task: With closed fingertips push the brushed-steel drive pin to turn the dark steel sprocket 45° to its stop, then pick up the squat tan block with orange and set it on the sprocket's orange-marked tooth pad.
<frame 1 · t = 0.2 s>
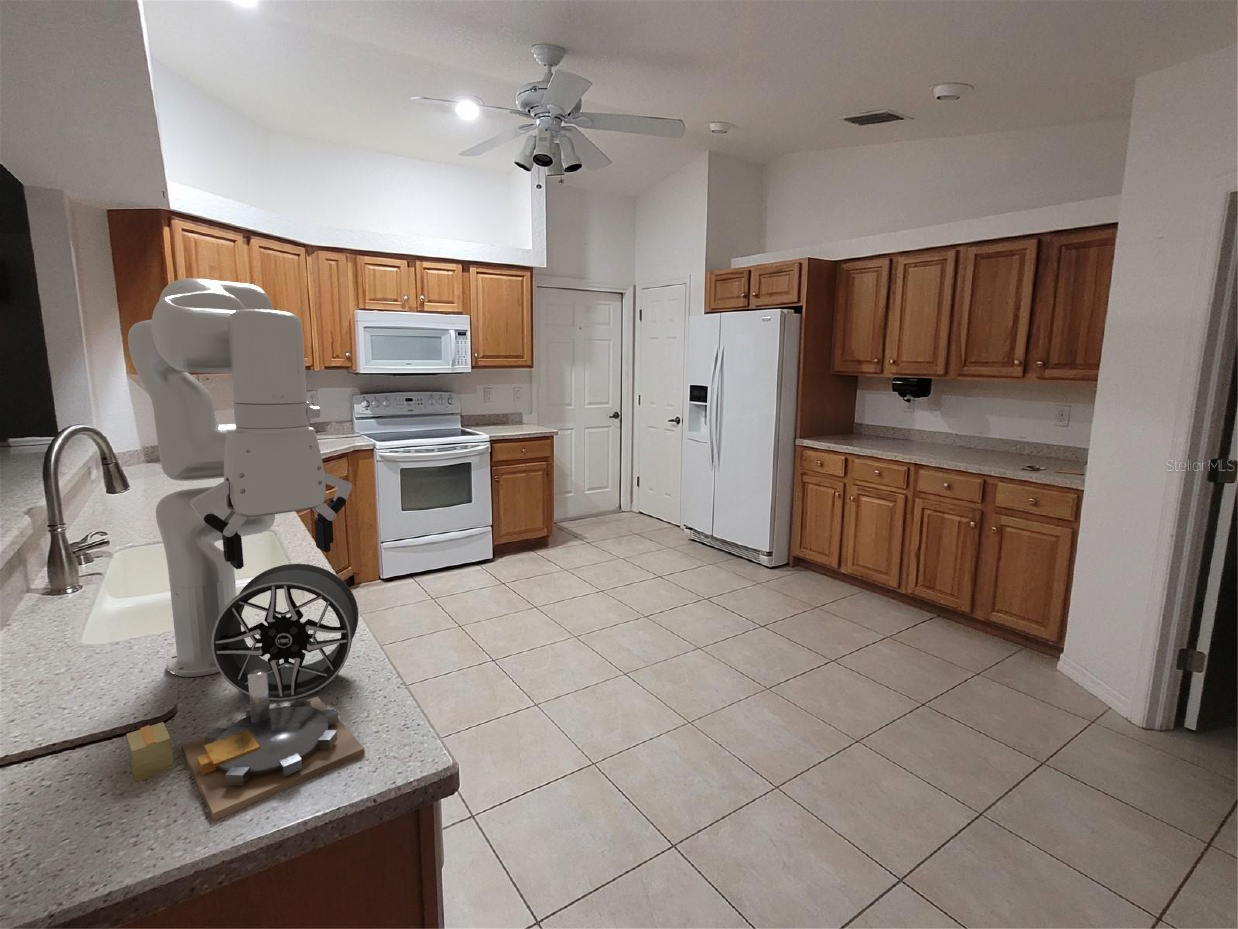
hand: (282, 557, 74), 30 cm above the worktop, fingers open, 9 cm apart
sprocket: (270, 715, 83), point 6 cm above the worktop, hinge at 0.0°
sprocket base: (273, 752, 84), on the worktop
wheel rim: (293, 686, 102), on the worktop
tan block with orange: (151, 766, 81), on the worktop
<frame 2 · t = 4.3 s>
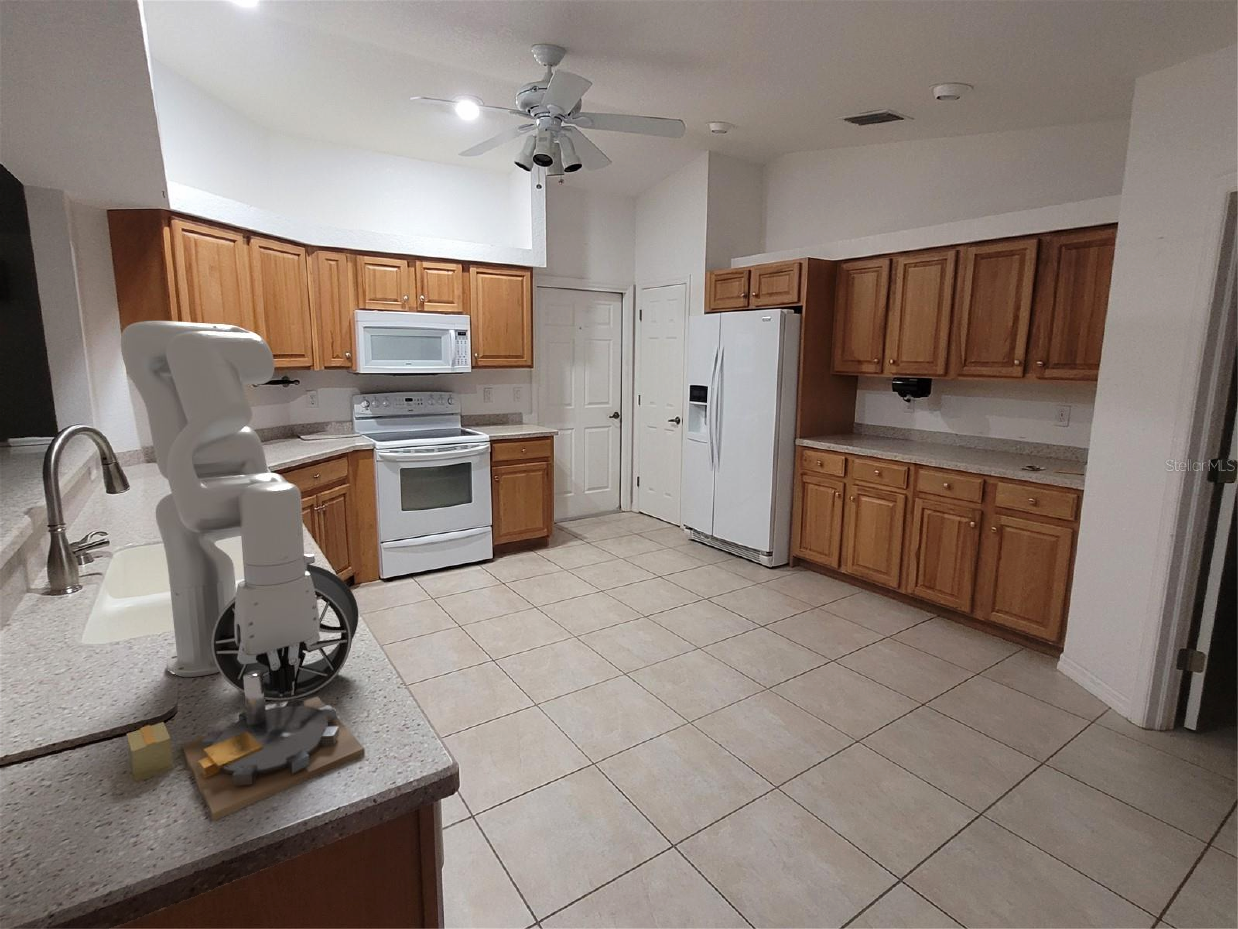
hand: (283, 689, 88), 7 cm above the worktop, fingers closed
sprocket: (270, 715, 83), point 6 cm above the worktop, hinge at 6.6°, touching gripper
everything else where it was.
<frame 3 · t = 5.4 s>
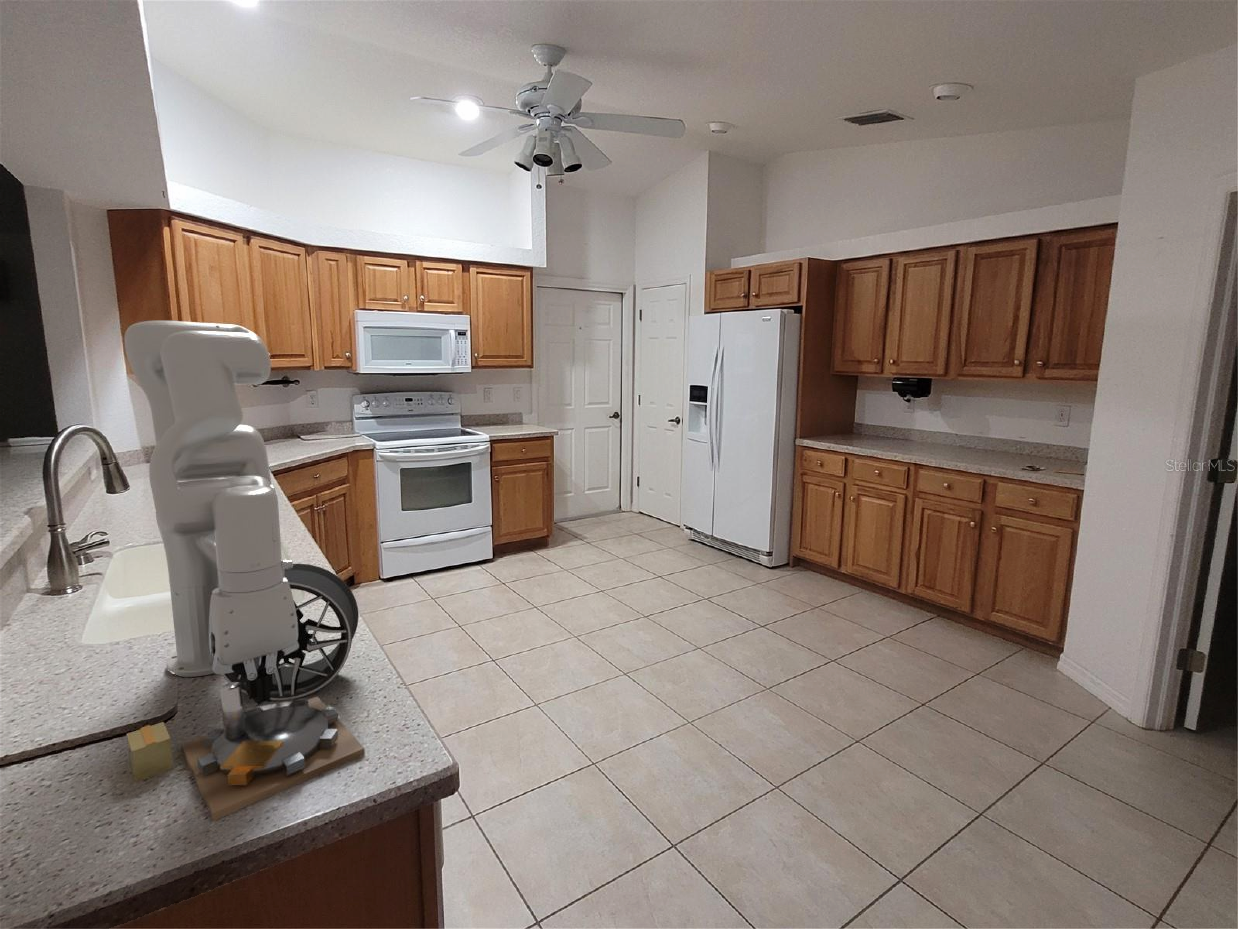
hand: (260, 699, 86), 7 cm above the worktop, fingers closed
sprocket: (270, 715, 83), point 6 cm above the worktop, hinge at 47.4°, touching gripper
everything else where it was.
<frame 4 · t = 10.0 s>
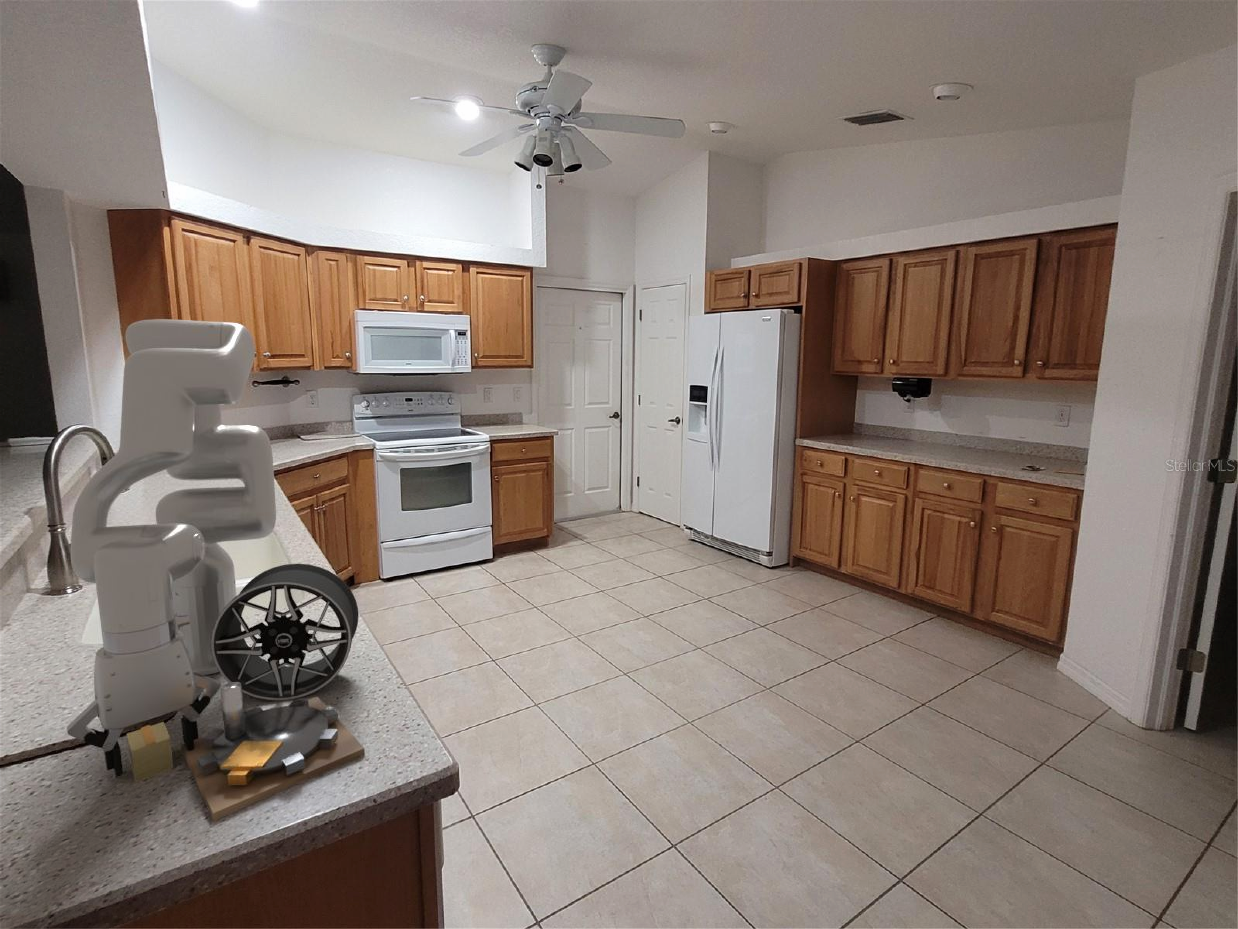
hand: (154, 757, 81), 1 cm above the worktop, fingers open, 7 cm apart
sprocket: (270, 715, 83), point 6 cm above the worktop, hinge at 47.2°
everything else where it was.
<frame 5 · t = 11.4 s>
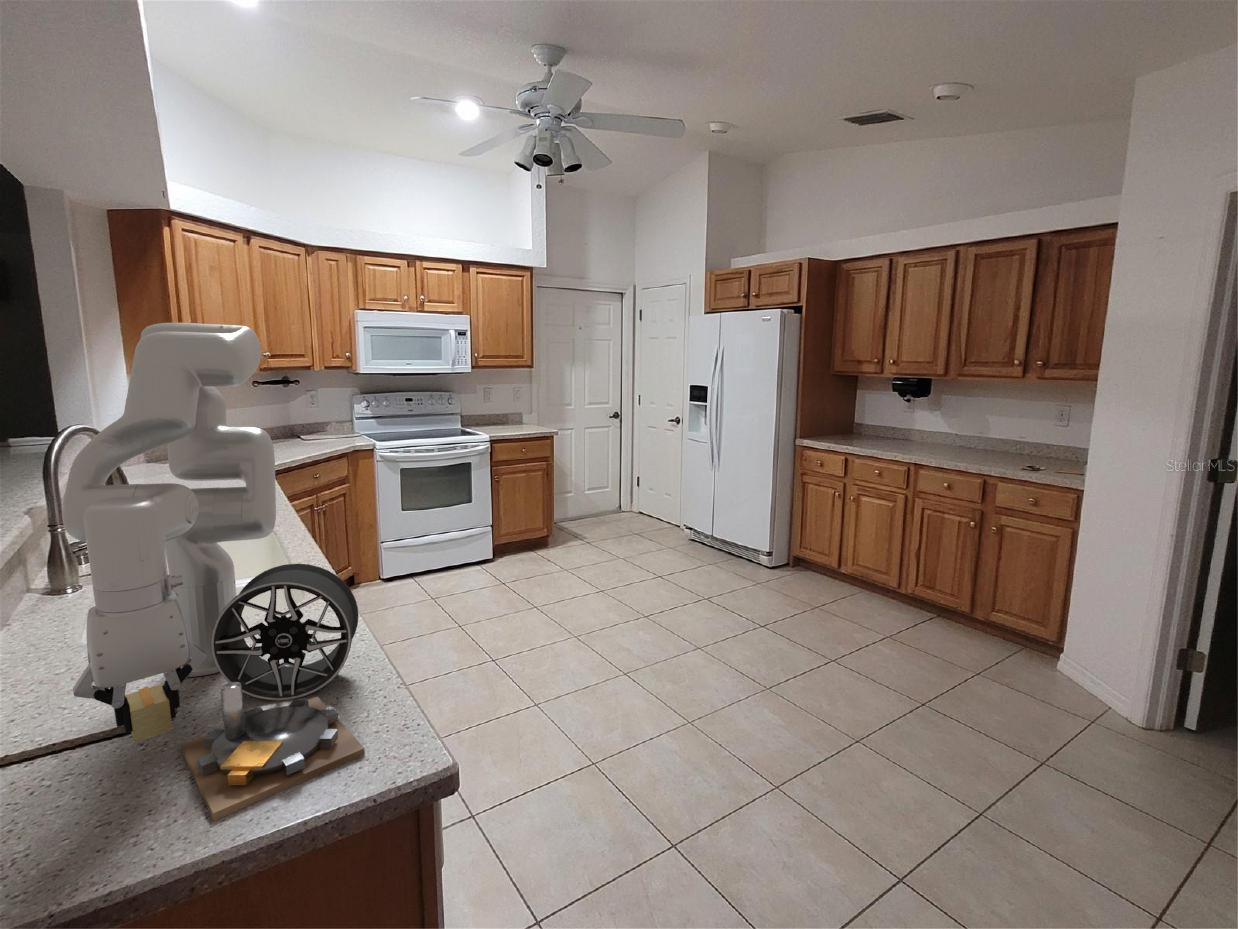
hand: (149, 720, 81), 6 cm above the worktop, fingers closed on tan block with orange, 4 cm apart
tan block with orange: (150, 727, 81), point 5 cm above the worktop, touching gripper
everything else where it was.
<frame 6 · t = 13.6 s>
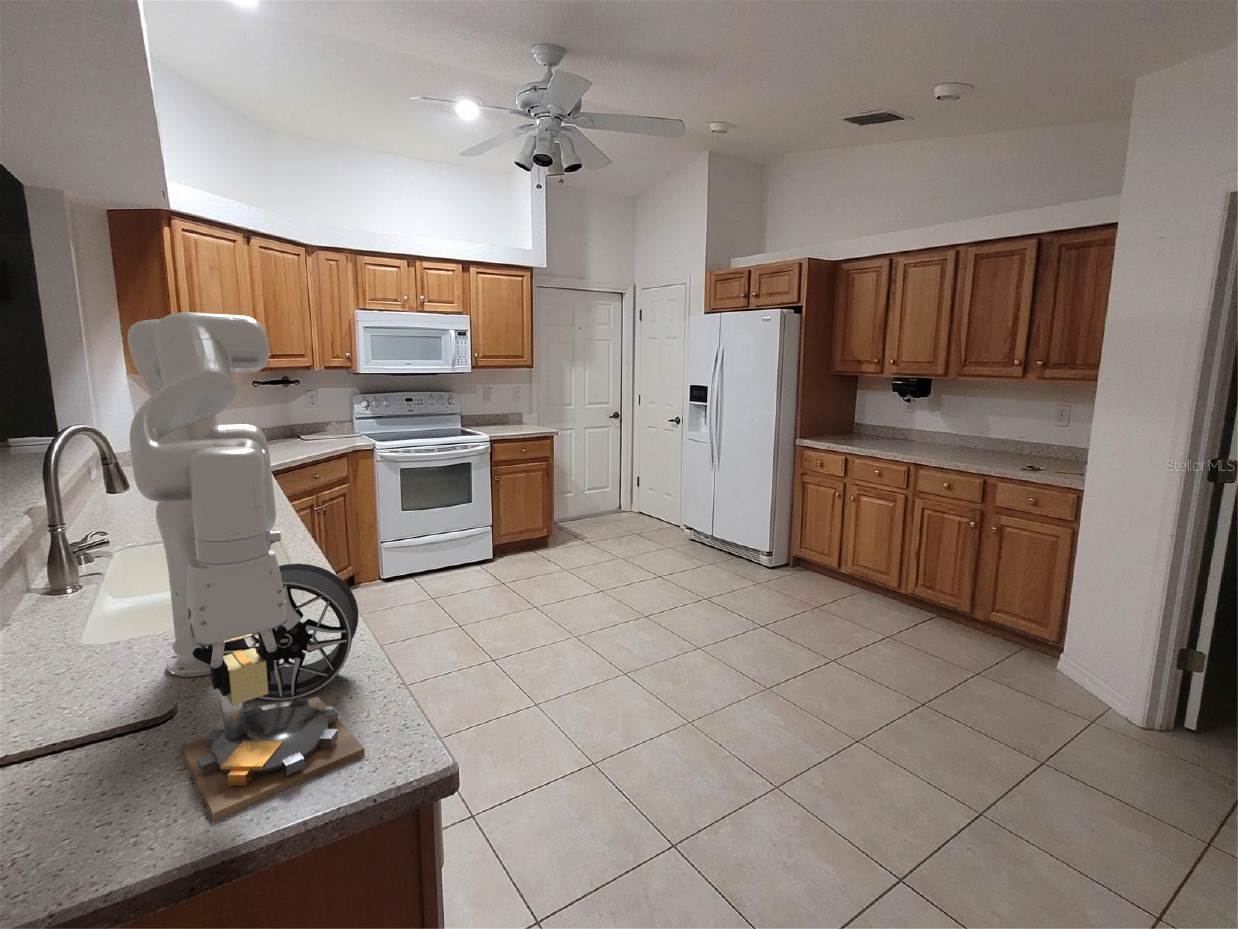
hand: (244, 683, 77), 13 cm above the worktop, fingers closed on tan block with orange, 4 cm apart
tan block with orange: (245, 691, 77), point 12 cm above the worktop, touching gripper
everything else where it was.
when the fingers open (4 cm above the worktop, at t = 16.2 s): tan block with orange stays where it is, resting on sprocket.
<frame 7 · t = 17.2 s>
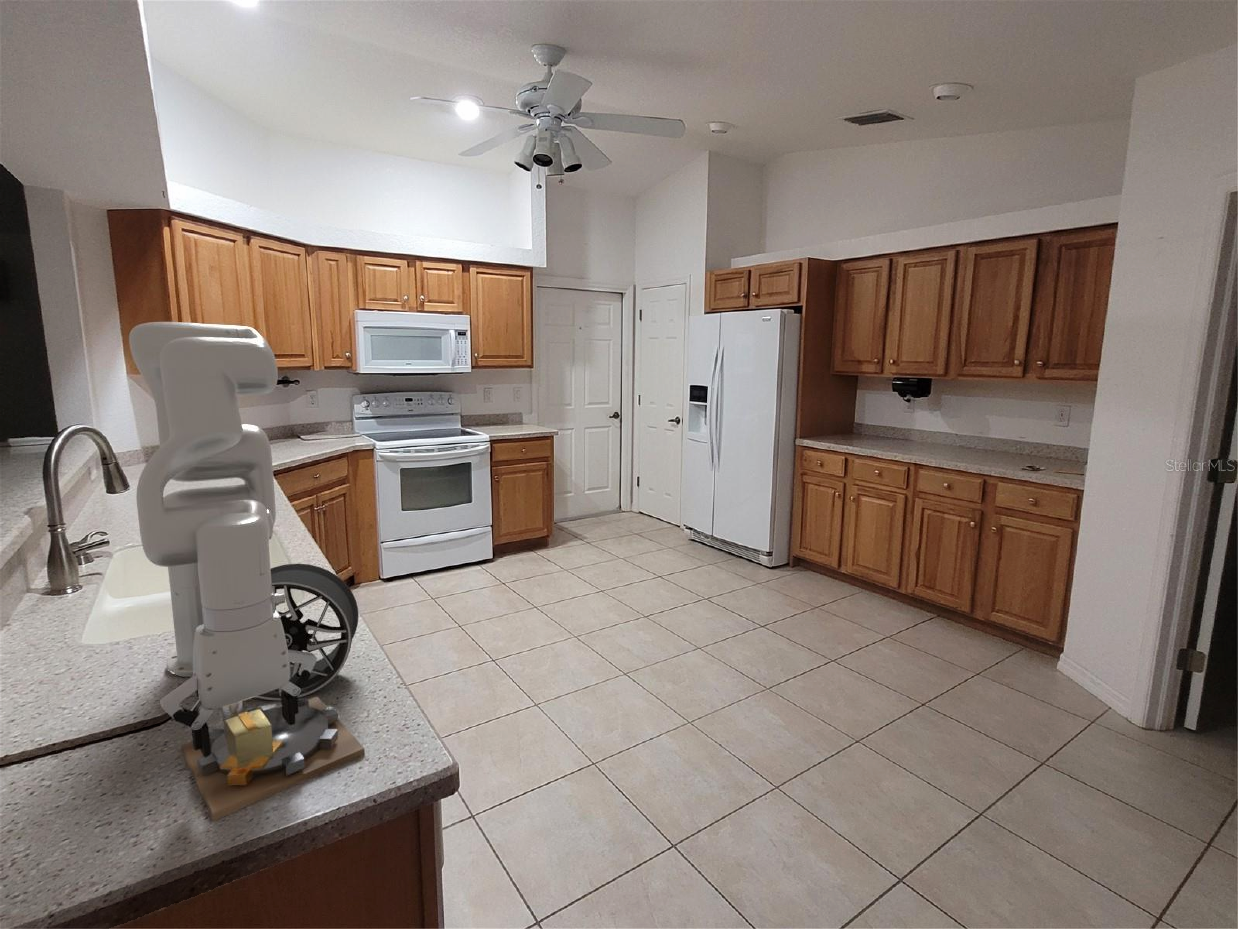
hand: (248, 735, 79), 6 cm above the worktop, fingers open, 9 cm apart
sprocket: (270, 715, 83), point 6 cm above the worktop, hinge at 47.0°, touching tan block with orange
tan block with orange: (250, 753, 79), point 3 cm above the worktop, touching sprocket
everything else where it was.
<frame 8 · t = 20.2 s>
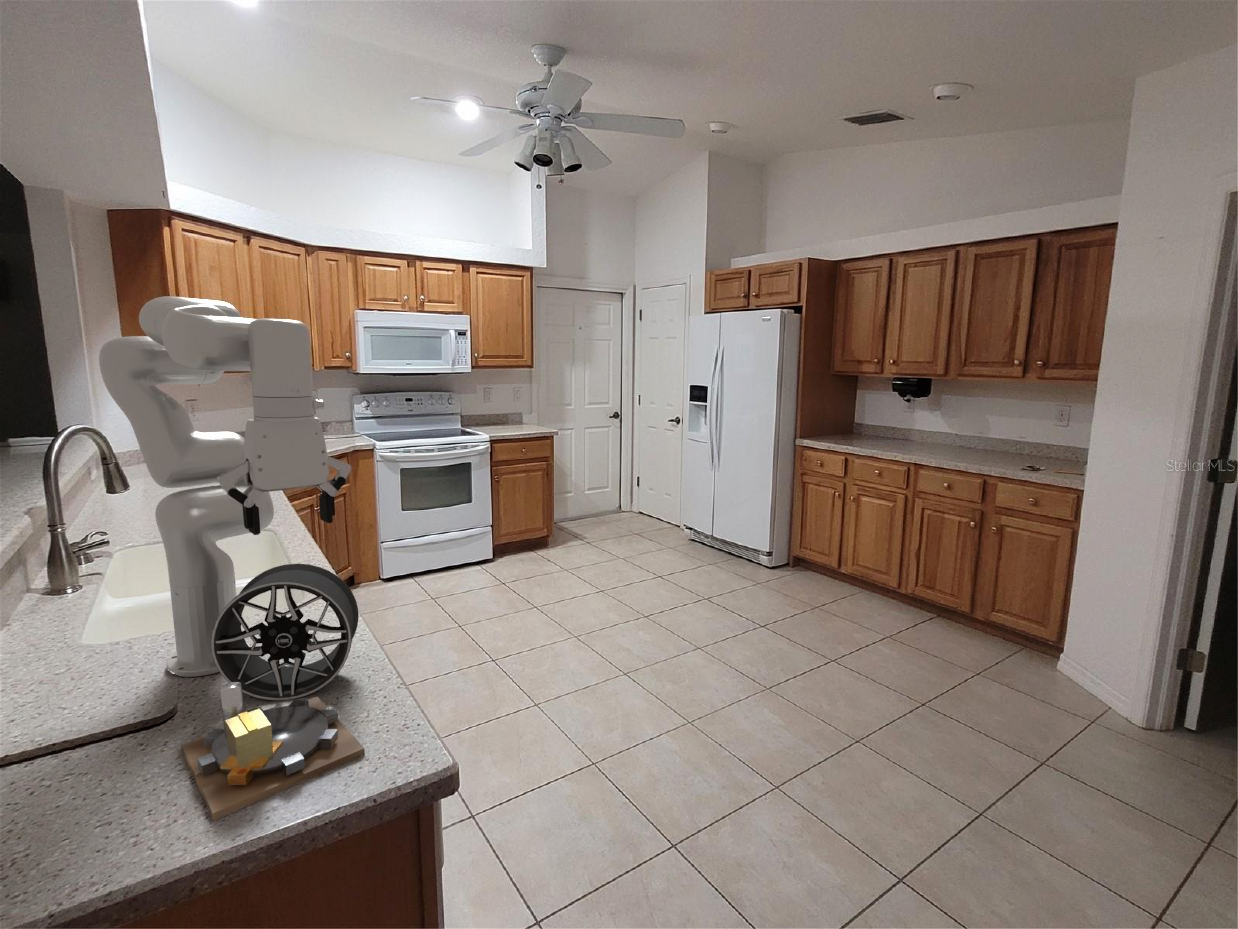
hand: (291, 526, 88), 30 cm above the worktop, fingers open, 9 cm apart
nothing on the worktop moved.
at the end: sprocket at +47° (first picture: +0°); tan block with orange inside the target area (0.2 cm from its centre), point 3.3 cm above the worktop; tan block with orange tilted 0° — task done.
